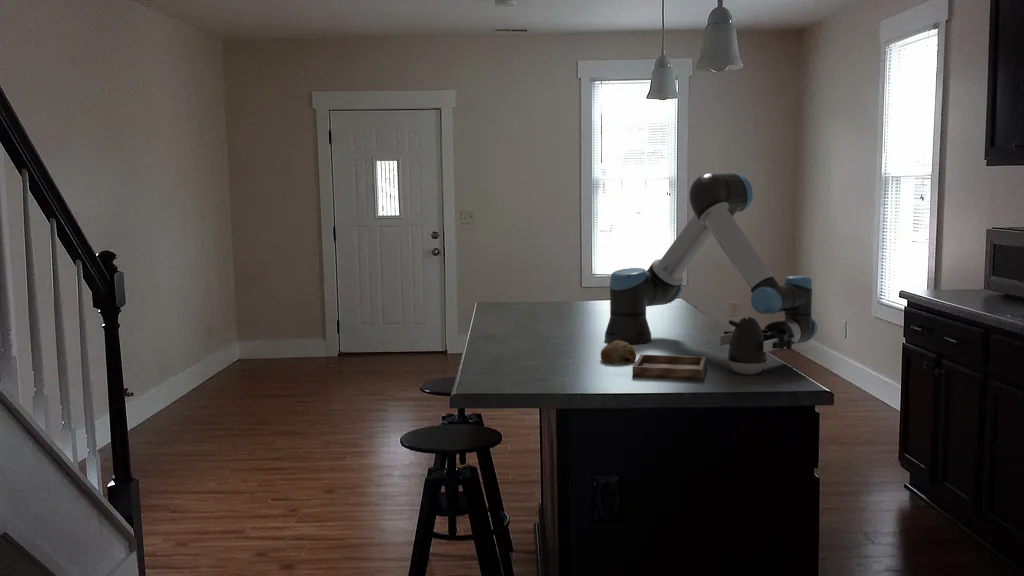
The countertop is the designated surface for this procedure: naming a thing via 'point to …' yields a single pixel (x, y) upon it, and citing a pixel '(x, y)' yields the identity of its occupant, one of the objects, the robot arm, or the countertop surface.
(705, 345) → the countertop surface
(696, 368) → the walnut tray
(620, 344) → the bread roll
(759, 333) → the pump dispenser
